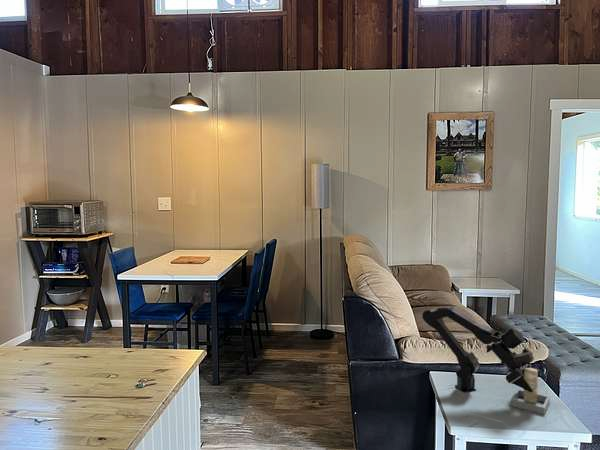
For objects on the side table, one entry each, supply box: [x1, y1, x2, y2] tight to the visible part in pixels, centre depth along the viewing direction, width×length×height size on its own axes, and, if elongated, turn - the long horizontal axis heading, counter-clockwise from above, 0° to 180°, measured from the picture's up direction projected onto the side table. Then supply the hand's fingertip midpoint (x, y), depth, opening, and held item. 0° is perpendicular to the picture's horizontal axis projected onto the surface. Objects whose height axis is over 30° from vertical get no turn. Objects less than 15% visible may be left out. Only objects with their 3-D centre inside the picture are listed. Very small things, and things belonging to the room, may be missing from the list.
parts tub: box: [510, 388, 551, 415], centre depth 181 cm, size 12×12×2 cm
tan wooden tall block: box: [523, 367, 539, 405], centre depth 180 cm, size 5×5×14 cm
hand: (534, 387), depth 179 cm, fingers open, 9 cm apart
